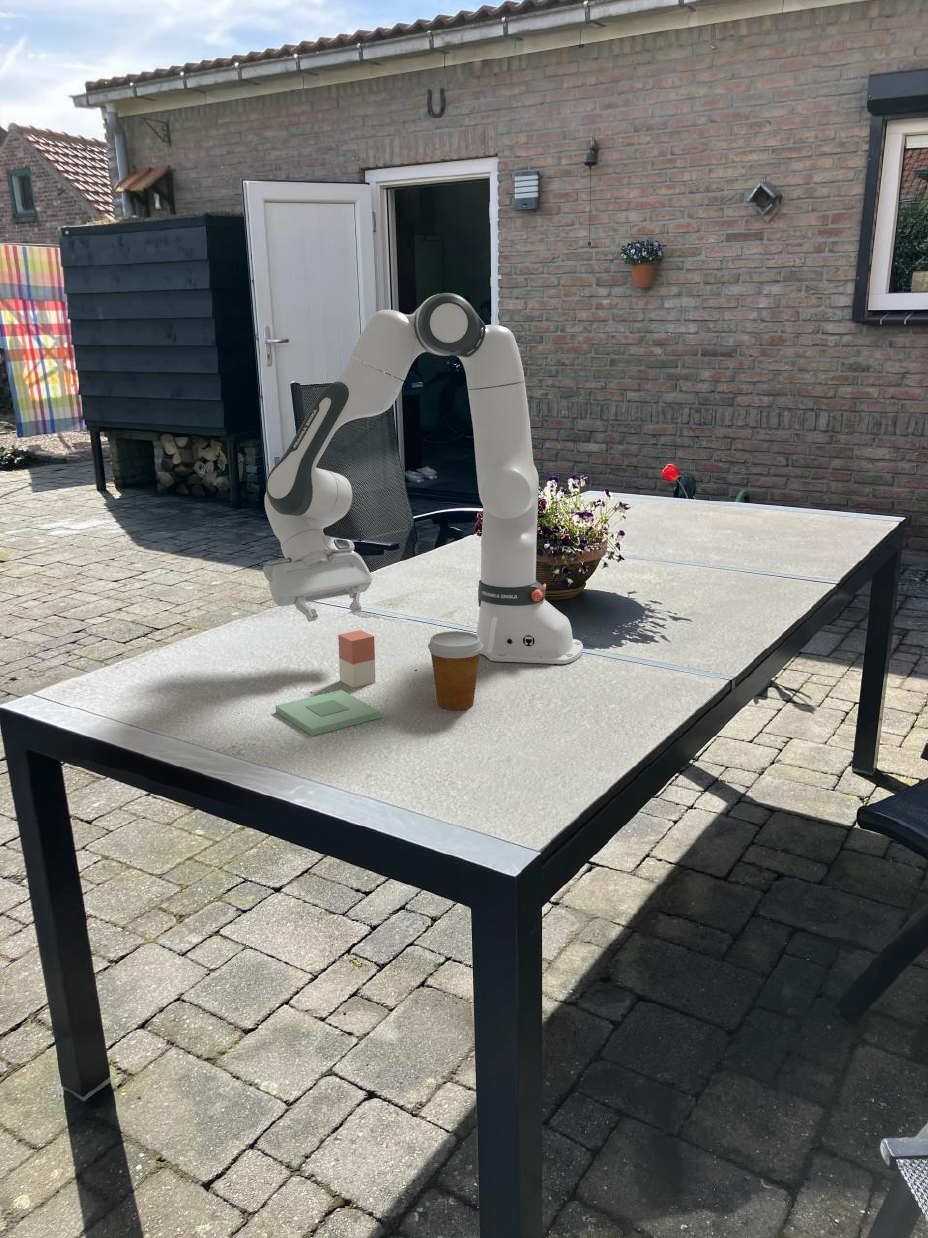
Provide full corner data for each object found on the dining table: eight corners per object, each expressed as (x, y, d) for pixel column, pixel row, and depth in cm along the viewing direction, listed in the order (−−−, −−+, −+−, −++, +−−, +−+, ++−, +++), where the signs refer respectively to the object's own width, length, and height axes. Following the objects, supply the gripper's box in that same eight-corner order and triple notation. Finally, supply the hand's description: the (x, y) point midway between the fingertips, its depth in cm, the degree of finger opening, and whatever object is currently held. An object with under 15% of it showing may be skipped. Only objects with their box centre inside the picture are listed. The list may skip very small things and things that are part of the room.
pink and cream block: (362, 675, 194) (360, 630, 192) (375, 682, 191) (374, 636, 188) (339, 680, 192) (338, 634, 189) (353, 687, 188) (351, 641, 185)
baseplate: (341, 695, 184) (341, 689, 183) (380, 718, 174) (380, 710, 173) (275, 712, 176) (275, 704, 176) (312, 736, 166) (312, 728, 166)
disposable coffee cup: (464, 717, 174) (464, 650, 171) (417, 706, 179) (417, 641, 175) (492, 700, 182) (493, 636, 178) (447, 690, 187) (447, 627, 183)
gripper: (264, 553, 190) (291, 615, 185) (359, 539, 202) (386, 598, 197) (255, 571, 195) (281, 633, 190) (348, 557, 207) (375, 615, 202)
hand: (335, 615), depth 194 cm, fingers open, 8 cm apart
